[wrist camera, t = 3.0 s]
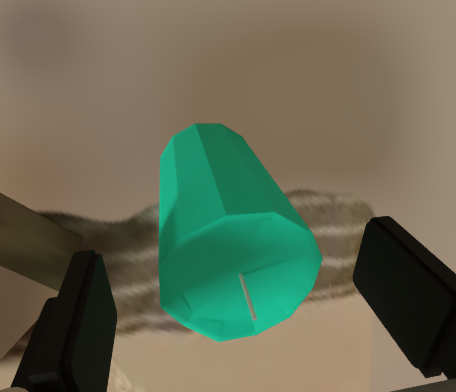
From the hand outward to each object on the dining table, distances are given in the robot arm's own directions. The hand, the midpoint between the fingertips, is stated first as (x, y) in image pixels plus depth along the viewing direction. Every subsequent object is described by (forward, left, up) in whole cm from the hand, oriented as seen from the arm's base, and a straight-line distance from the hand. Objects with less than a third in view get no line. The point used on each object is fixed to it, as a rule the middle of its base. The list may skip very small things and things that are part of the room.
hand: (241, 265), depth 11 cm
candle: (0, 0, -10) cm, 10 cm away
